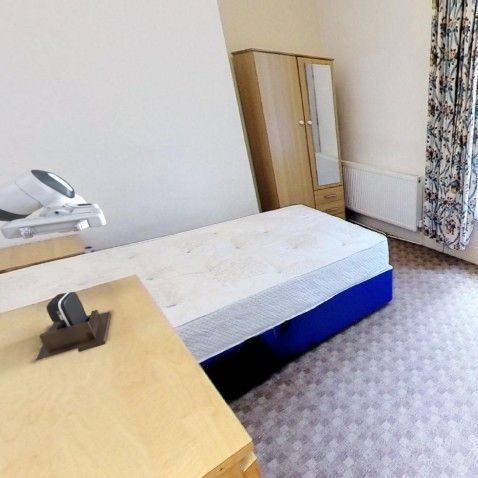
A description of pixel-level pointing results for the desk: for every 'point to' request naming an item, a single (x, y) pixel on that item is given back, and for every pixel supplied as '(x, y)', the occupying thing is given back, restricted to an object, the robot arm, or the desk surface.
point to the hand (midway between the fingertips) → (52, 232)
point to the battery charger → (67, 309)
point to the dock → (75, 335)
